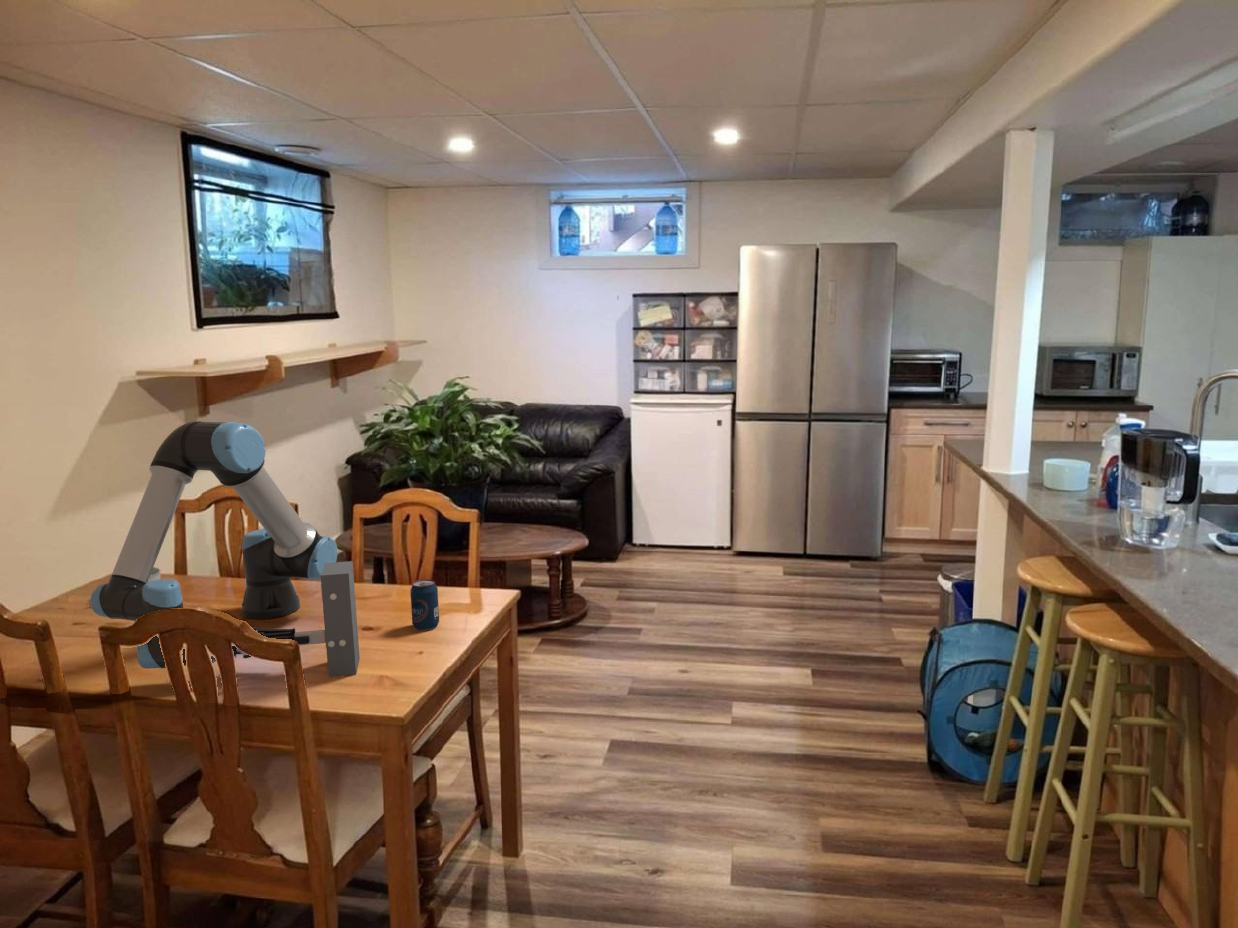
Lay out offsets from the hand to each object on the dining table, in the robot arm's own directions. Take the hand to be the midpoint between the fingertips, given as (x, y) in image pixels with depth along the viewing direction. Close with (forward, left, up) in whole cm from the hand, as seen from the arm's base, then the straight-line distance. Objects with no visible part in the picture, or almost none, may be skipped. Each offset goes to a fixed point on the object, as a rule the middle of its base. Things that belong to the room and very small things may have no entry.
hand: (324, 636), depth 202 cm
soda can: (+8, +31, -8) cm, 33 cm away
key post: (+3, +2, -8) cm, 9 cm away
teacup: (-87, +29, -8) cm, 92 cm away
